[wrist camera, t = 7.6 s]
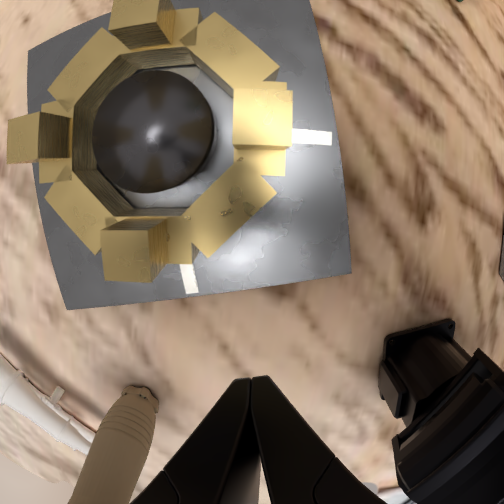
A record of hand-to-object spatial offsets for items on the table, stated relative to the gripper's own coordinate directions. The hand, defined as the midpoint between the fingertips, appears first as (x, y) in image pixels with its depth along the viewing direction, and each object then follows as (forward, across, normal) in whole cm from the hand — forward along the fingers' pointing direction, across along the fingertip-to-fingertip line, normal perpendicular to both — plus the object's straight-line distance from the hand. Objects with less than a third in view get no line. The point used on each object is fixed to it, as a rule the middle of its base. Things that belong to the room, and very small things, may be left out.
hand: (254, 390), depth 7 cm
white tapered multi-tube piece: (+13, +21, +10) cm, 27 cm away
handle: (+13, +11, +11) cm, 20 cm away
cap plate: (+13, +4, -8) cm, 16 cm away
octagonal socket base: (+12, +4, -8) cm, 15 cm away
